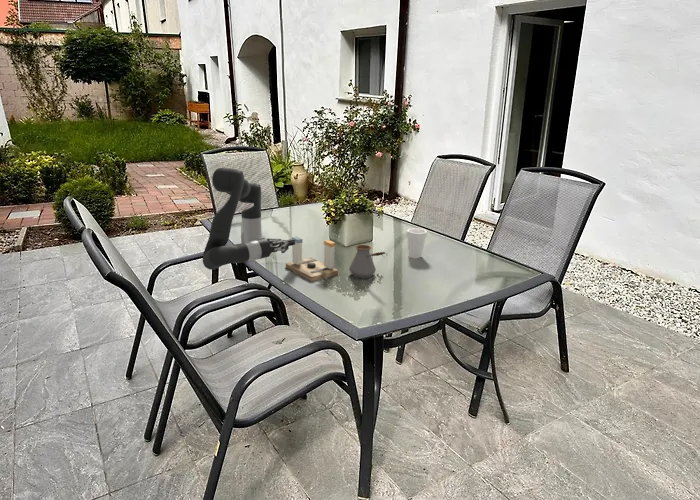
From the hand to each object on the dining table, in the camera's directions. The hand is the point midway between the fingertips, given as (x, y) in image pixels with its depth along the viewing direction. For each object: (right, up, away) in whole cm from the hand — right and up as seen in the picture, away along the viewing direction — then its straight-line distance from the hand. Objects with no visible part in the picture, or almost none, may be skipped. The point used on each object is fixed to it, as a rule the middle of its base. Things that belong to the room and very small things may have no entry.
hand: (294, 241), depth 187 cm
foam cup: (+55, -7, +42) cm, 69 cm away
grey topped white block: (-1, -9, +19) cm, 21 cm away
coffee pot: (+30, -16, +11) cm, 36 cm away
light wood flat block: (+5, -13, +17) cm, 22 cm away
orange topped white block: (+13, -11, +15) cm, 23 cm away
